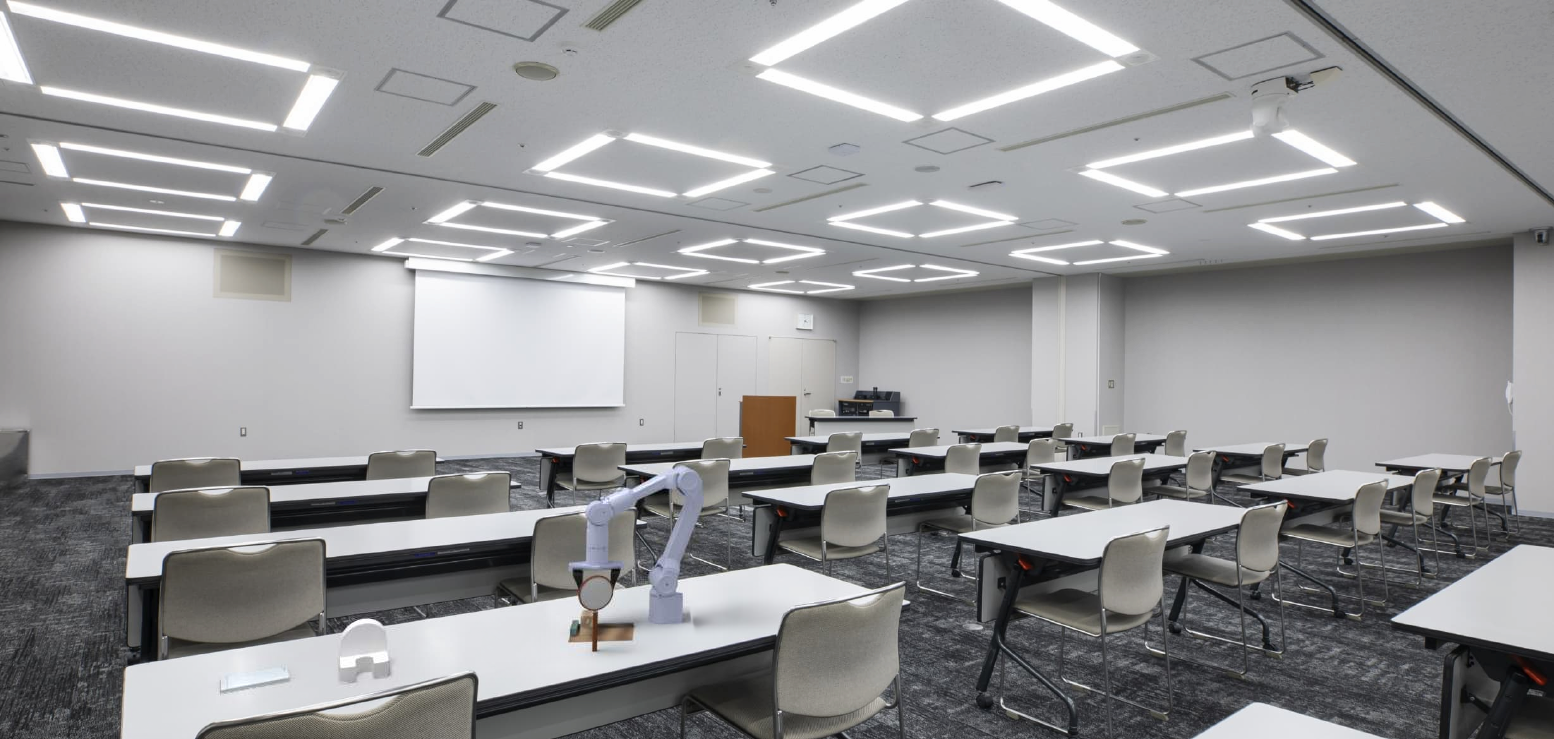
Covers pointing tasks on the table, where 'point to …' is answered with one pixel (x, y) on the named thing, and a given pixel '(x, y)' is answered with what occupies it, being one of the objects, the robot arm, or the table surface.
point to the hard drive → (254, 679)
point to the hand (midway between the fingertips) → (596, 597)
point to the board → (604, 632)
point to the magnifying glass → (595, 599)
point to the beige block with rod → (586, 623)
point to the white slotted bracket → (363, 650)
